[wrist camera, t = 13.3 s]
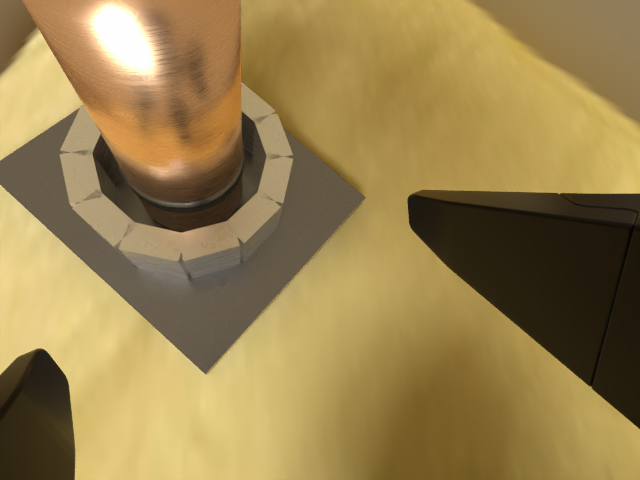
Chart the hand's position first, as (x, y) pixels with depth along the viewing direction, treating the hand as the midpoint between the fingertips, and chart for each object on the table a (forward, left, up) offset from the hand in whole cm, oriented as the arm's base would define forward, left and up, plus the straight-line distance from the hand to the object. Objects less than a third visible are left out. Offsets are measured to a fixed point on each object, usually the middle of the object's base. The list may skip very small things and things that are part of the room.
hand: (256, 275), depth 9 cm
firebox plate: (+7, -3, -11) cm, 13 cm away
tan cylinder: (+7, -3, -10) cm, 12 cm away
